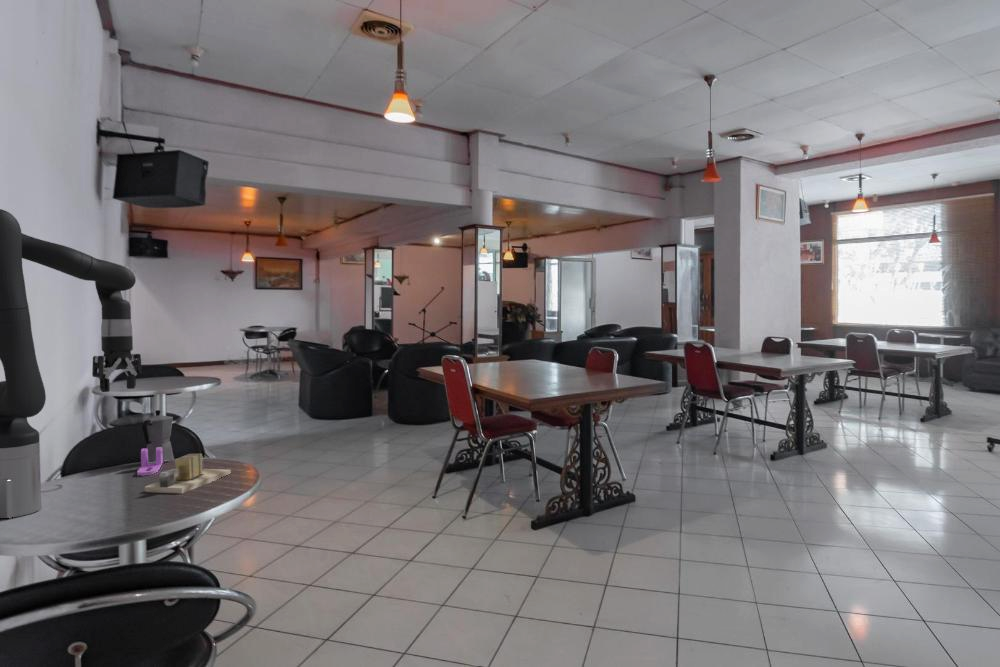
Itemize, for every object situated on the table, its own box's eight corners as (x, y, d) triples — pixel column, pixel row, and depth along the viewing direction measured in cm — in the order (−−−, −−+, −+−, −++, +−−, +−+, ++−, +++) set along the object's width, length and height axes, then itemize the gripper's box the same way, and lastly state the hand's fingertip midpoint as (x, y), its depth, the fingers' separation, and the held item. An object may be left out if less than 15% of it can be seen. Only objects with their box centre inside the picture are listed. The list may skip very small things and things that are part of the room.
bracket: (143, 468, 182) (142, 447, 182) (162, 466, 185) (162, 445, 184) (135, 477, 170) (134, 455, 170) (156, 475, 173) (155, 453, 173)
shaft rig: (181, 493, 151) (181, 473, 151) (144, 492, 154) (144, 472, 154) (230, 474, 171) (230, 456, 171) (197, 473, 173) (196, 456, 173)
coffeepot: (155, 457, 198) (154, 408, 197) (182, 456, 198) (181, 407, 198) (129, 468, 182) (128, 414, 182) (159, 467, 183) (157, 413, 183)
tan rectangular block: (189, 479, 159) (189, 458, 159) (175, 480, 159) (175, 459, 159) (202, 473, 166) (202, 453, 166) (189, 473, 166) (188, 453, 166)
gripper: (105, 335, 153) (107, 393, 153) (147, 334, 167) (149, 387, 167) (83, 335, 155) (85, 393, 155) (127, 335, 169) (128, 387, 169)
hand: (118, 390), depth 161 cm, fingers open, 8 cm apart
